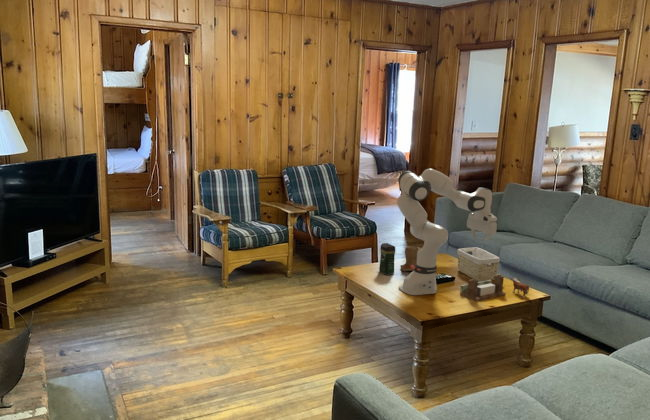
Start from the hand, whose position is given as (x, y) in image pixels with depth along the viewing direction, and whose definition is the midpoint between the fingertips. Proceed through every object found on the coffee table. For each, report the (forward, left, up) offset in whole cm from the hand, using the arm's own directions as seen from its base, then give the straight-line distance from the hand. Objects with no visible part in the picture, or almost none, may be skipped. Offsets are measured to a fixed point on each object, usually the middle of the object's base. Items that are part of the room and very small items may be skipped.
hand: (480, 238), depth 314 cm
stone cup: (-16, +41, -29) cm, 53 cm away
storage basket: (+16, +15, -29) cm, 37 cm away
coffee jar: (-34, +42, -29) cm, 62 cm away
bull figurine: (+14, -20, -29) cm, 38 cm away
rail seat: (-6, -12, -29) cm, 32 cm away
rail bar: (-6, -13, -28) cm, 31 cm away
